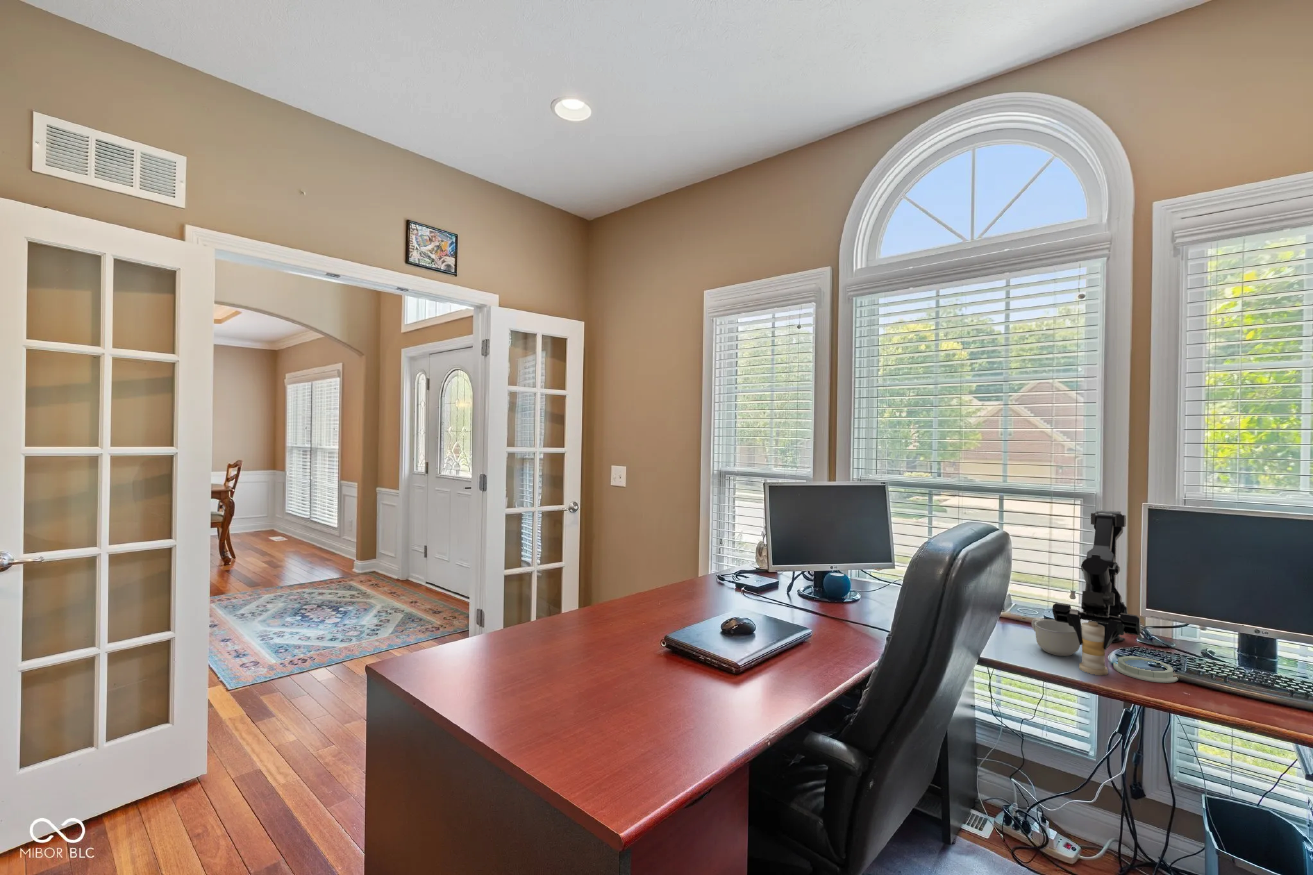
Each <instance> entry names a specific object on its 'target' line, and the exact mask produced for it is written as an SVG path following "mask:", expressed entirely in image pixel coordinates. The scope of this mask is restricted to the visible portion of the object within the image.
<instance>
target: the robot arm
mask: <svg viewBox="0 0 1313 875" xmlns="http://www.w3.org/2000/svg"><path fill="white" fill-rule="evenodd" d="M1090 525H1093V529H1094V539H1093V547H1092V548H1091V549H1089V550H1088V551H1087V552H1086V556H1085V557H1086V558H1083V560H1082V562H1081V564H1080V569H1081V572H1082V574H1083V579H1084V582H1085V589H1084V590H1082V591H1081V593H1082V594H1081V606H1080V607H1081V609H1082V611H1080V610H1079V609H1075V608H1072V605H1071V604H1068V603H1067V604H1066V603H1060V602H1055V603H1053V604H1052V614H1053V620H1056V621H1058V622H1063V623H1068V625H1069V626H1072V627H1073V628H1074V630H1075V632H1076V634H1077V637H1078V640H1079V644H1080V646H1082V621H1084V620H1085V621H1094V622H1097V623H1098V624H1100V625H1103V626H1104V627H1105V640H1104V650H1105V651H1106V650H1108V648H1109V647H1110V645H1111V644H1112V643H1118V642H1122V641H1126V637H1122V636H1124V635H1125V634H1128V635H1134V636H1140V635H1141V630H1142V629H1141V626H1142V625H1141V618H1140V617H1139V616H1138V615H1137V614H1132V613H1131V614H1130V613H1128V608H1127V606H1126V604H1125V601H1123V598H1122V595H1121V594H1120V592H1119V590H1118V589H1117V588H1116V587H1117V586H1116V583H1117V582H1116V579H1117V576H1118V574H1119V573H1120V572H1121V567H1120V566H1119V564H1118V562H1117V540H1118V539H1119V538H1120V536H1121V535H1122V534H1123V533H1124V528H1126V526H1127V516H1126V515H1125V514H1122V511H1119V510H1117V511H1116V510H1104V509H1103V510H1102V509H1097V510H1096V511H1095V512H1090ZM1081 620H1082V621H1081Z"/></svg>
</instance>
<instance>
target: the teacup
mask: <svg viewBox="0 0 1313 875" xmlns="http://www.w3.org/2000/svg"><path fill="white" fill-rule="evenodd" d="M1031 627H1032V629H1033V631H1034V632H1035V639H1036V642H1037V645H1038V646H1039V647H1040V648H1041V649H1042V650H1043V651H1044V652H1046V653H1048V654H1050V655H1054V656H1058V657H1059V656H1060V657H1069V656H1072V655H1073V654H1075V653H1077V652H1078V651H1079V650H1080V646H1081V645H1080V644H1079V640H1078V637H1077V634H1076V632H1075V630H1074V628H1073V627H1072V626H1069V625H1068V623H1063V622H1058V621H1056V620H1055V619H1041V618H1037V617H1036V618H1033V619H1032V620H1031Z"/></svg>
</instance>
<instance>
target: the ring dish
mask: <svg viewBox="0 0 1313 875" xmlns="http://www.w3.org/2000/svg"><path fill="white" fill-rule="evenodd" d="M1128 660H1144V661H1153V662H1156V663H1160V664H1161V665H1163V666H1164V667H1165V668H1166V669H1167V670H1165V671H1151V670H1145V669H1140V668H1137V667H1133V666H1130V665H1128V664H1126V663H1125V661H1128ZM1117 661H1118V664H1116V663H1115V661H1114V662H1113V669H1114V670H1115V671H1117V673H1120V674H1122V675H1125V676H1126V677H1130V678H1133V679H1135V680H1136V679H1137V680H1140V681H1146V682H1152V683H1157V684H1158V683H1161V684H1167V683H1168V684H1170V683H1171V684H1172V683H1175V682H1177V681H1179V677H1178V678H1177V677H1173V671H1174V669H1173V666H1171V665H1169V664H1168V663H1164V662H1163V661H1159V660H1155V659H1152V658H1147V657H1141V656H1132V655H1129V656H1128V655H1124V656H1119V657H1117Z"/></svg>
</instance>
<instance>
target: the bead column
mask: <svg viewBox="0 0 1313 875" xmlns="http://www.w3.org/2000/svg"><path fill="white" fill-rule="evenodd" d="M1087 621H1088V620H1087ZM1081 626H1082V645H1081V662H1079V664H1078V665H1079V670H1080V671H1081V670H1082V672H1083V671H1084V673H1086V672H1087V673H1086V674H1089V673H1090V674H1089V675H1093V674H1095V675H1094V676H1107V675H1108V674H1109V671H1108V670H1109V669H1108V666H1106V664H1105V663H1106V655H1105V654H1106V653H1105V652H1106V650H1104V640H1105V627H1104V626H1103V625H1100V624H1098V623H1097V622H1094V621H1088V622H1081Z"/></svg>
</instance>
